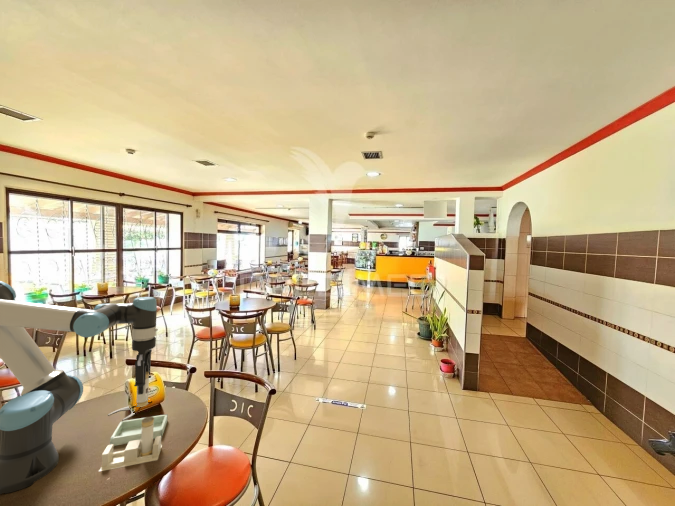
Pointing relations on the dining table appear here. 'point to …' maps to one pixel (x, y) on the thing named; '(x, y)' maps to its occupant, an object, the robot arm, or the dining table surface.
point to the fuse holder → (129, 455)
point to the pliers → (123, 410)
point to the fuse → (147, 436)
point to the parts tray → (137, 430)
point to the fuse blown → (142, 404)
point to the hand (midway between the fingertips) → (142, 398)
